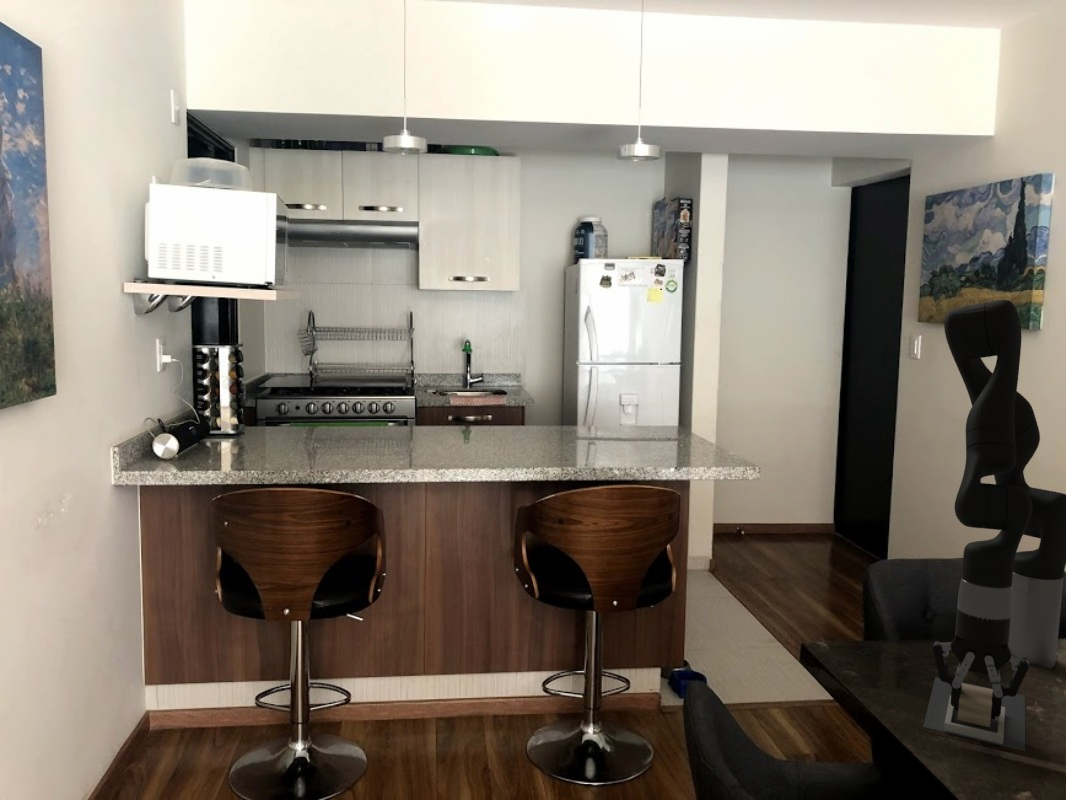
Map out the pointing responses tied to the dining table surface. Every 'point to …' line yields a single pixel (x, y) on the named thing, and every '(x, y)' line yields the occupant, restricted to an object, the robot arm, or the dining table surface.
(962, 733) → the slot frame
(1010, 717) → the mat
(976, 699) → the tan rectangular block
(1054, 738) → the dining table surface
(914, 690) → the dining table surface
